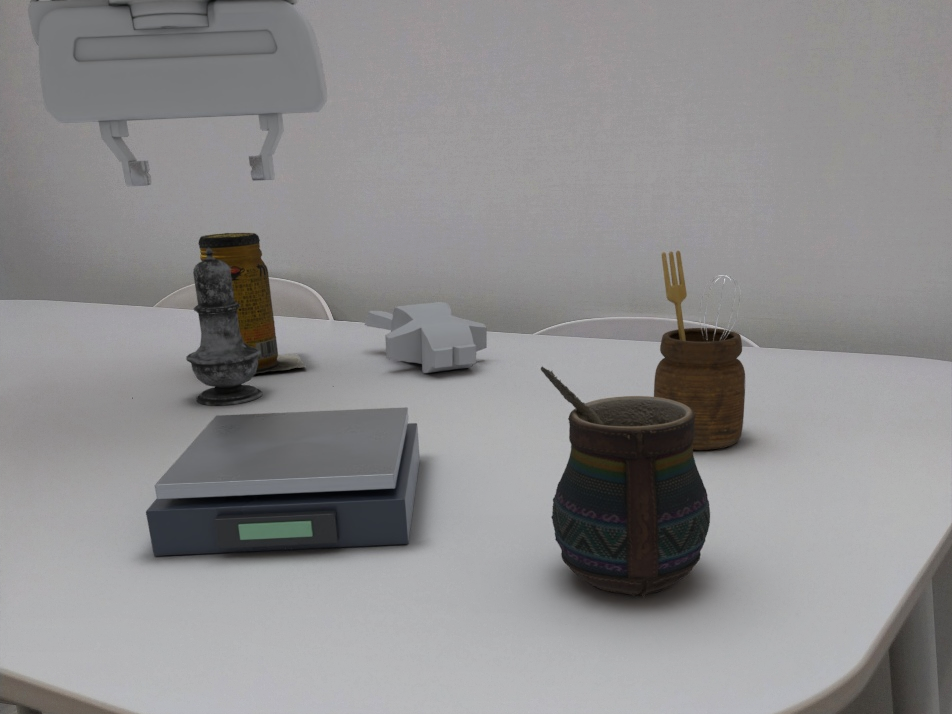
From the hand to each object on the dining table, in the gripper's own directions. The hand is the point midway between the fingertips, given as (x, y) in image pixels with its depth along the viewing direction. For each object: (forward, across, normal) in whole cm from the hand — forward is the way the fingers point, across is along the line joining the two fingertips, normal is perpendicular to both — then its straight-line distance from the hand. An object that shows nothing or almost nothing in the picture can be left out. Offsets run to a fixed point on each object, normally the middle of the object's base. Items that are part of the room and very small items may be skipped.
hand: (201, 183), depth 74 cm
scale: (+17, +10, -26) cm, 32 cm away
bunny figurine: (+17, +16, +11) cm, 26 cm away
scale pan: (+14, +10, -26) cm, 31 cm away
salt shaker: (+17, 0, 0) cm, 17 cm away
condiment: (+17, 0, +11) cm, 20 cm away
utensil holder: (+17, +35, -17) cm, 42 cm away
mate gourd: (+17, +27, -38) cm, 50 cm away
